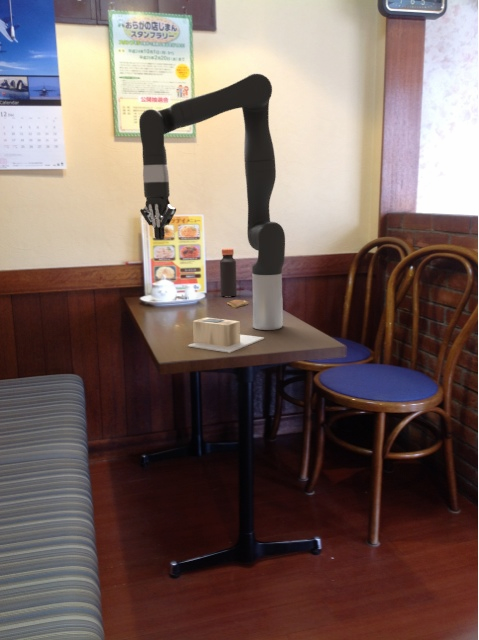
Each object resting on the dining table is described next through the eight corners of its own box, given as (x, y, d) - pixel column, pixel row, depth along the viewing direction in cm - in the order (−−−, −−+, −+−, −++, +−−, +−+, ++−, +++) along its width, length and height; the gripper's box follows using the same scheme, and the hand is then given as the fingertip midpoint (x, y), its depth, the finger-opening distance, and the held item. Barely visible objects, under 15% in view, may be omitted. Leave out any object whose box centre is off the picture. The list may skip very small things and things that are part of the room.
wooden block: (205, 316, 166) (239, 320, 160) (206, 337, 168) (240, 342, 161) (192, 320, 161) (227, 324, 155) (193, 341, 163) (228, 346, 156)
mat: (224, 333, 174) (224, 332, 174) (264, 338, 166) (264, 337, 166) (188, 346, 159) (188, 345, 159) (229, 352, 151) (229, 351, 151)
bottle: (239, 296, 243) (238, 249, 239) (225, 298, 239) (224, 250, 235) (231, 294, 248) (230, 248, 244) (217, 296, 245) (216, 249, 241)
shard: (235, 309, 215) (235, 305, 215) (218, 308, 219) (218, 303, 219) (249, 305, 225) (249, 300, 224) (232, 303, 228) (232, 299, 228)
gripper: (181, 180, 169) (184, 239, 173) (148, 182, 177) (151, 238, 180) (164, 180, 163) (168, 240, 167) (131, 182, 170) (135, 240, 174)
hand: (159, 239), depth 173 cm, fingers closed
